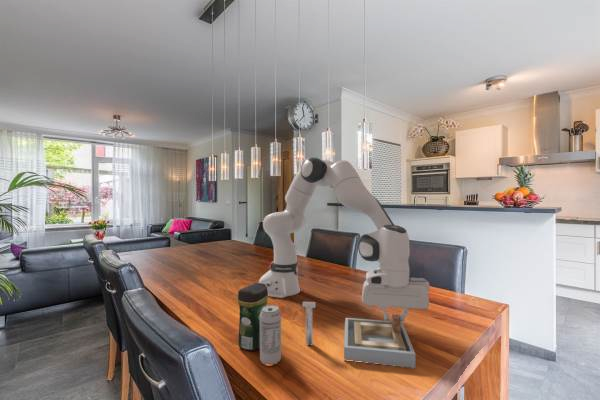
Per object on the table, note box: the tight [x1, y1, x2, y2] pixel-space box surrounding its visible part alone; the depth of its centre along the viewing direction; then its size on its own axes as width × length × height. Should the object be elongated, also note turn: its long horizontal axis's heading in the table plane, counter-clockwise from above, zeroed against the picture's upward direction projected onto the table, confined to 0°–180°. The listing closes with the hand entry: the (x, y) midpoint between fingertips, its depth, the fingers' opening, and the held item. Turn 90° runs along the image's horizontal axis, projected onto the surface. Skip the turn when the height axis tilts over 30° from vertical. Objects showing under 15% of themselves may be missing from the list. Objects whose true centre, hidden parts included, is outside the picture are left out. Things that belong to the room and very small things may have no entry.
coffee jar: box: [237, 281, 269, 351], centre depth 87 cm, size 10×8×19 cm
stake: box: [302, 301, 317, 345], centre depth 86 cm, size 4×2×13 cm, turn 80°
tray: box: [343, 317, 416, 369], centre depth 85 cm, size 19×19×4 cm
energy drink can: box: [259, 304, 282, 364], centre depth 78 cm, size 6×6×15 cm
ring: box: [354, 313, 406, 351], centre depth 85 cm, size 14×14×7 cm
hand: (394, 320), depth 88 cm, fingers open, 3 cm apart
